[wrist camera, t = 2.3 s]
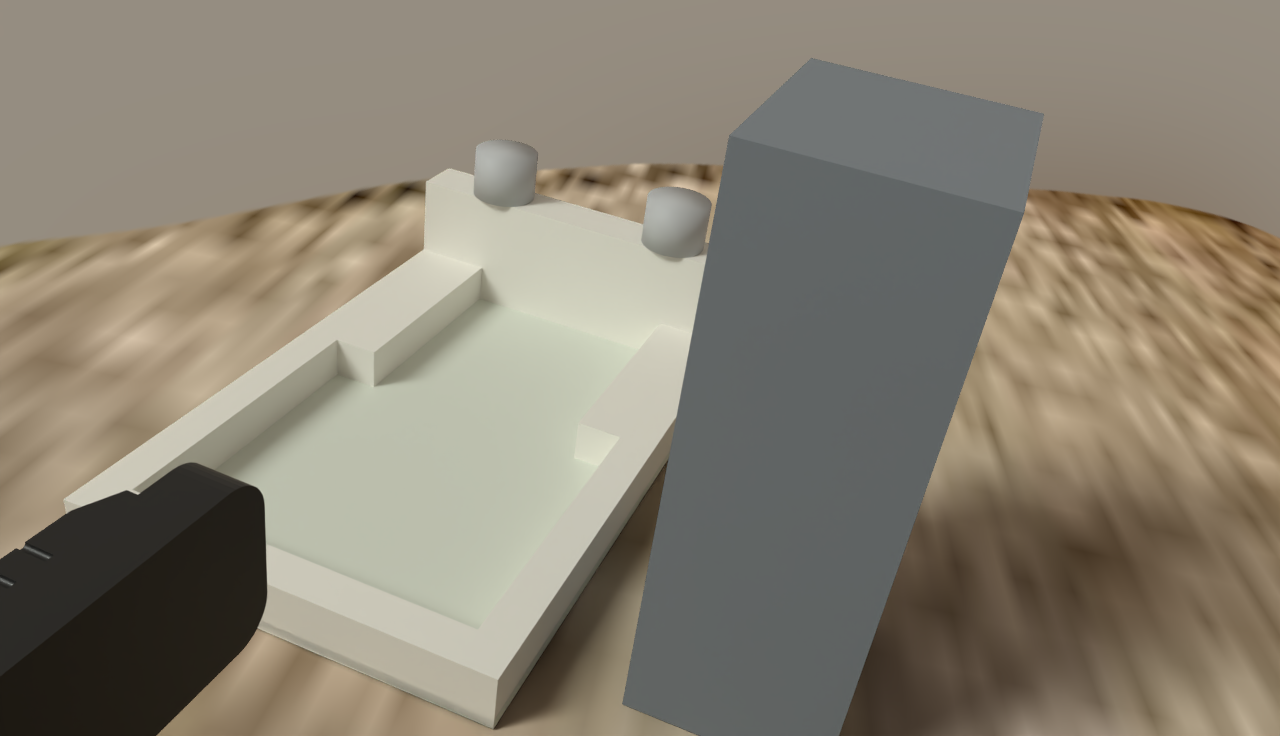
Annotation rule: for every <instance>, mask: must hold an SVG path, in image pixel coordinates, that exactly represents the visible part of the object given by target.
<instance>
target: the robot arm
mask: <svg viewBox="0 0 1280 736" xmlns="http://www.w3.org/2000/svg"><path fill="white" fill-rule="evenodd" d="M266 602H267V562H266V529H265V503H264V498H263V494H262V493H261V491H260V490H259V489H258V488H257V487H255V486H252V485H250V484H247V483H245V482H242V481H240V480H237V479H235V478H233V477H230V476H228V475H225V474H223V473H220V472H218V471H215V470H213V469H210V468H208V467H206V466H203V465H201V464H198V463H193V462H190V463H185V464H182V465H180V466H178V467H176V468H175V469H173V470H171V471H170V472H169V473H167V474H166V475H164V476H163V477H162V478H160V479H159V480H158V481H156V482H155V483H153V484H152V485H151V486H149V487H148V488H146V489H145V490H144V491H142V492H141V493H139V494H138V495H137V494H135V493H133V492H130V491H128V490H125V491H123V492H120V493H117V494H115V495H112V496H109V497H106V498H104V499H101V500H98V501H96V502H93V503H90V504H87V505H85V506H82V507H79V508H77V509H74V510H71V511H70V512H68V513H67V514H65V515H64V516H62V517H61V518H59V519H58V520H57V521H55V522H54V523H52V524H51V525H49V526H48V527H46V528H45V529H44V530H42V531H41V532H39V533H38V534H36V535H35V536H33V537H32V538H30V539H29V540H28V541H26V542H25V546H24V547H23V548H22V549H21V550H19V549H17V548H16V549H14V550H13V551H12V552H10V553H9V554H7V555H6V556H4V557H3V558H1V559H0V736H156V735H157V734H158V733H159V732H160V731H161V730H162V729H163V728H164V727H165V726H166V725H167V724H168V723H169V722H170V721H171V720H172V719H173V718H174V717H175V716H177V715H178V714H179V713H180V712H181V711H182V710H183V709H184V708H185V707H186V706H187V705H188V704H189V703H190V702H191V701H192V700H193V699H194V698H195V697H196V696H197V695H198V694H199V693H200V692H201V691H202V690H203V689H204V688H205V687H206V686H207V685H208V684H209V683H210V682H211V681H212V680H213V679H214V678H215V677H216V676H217V675H218V674H219V673H220V672H221V671H222V670H223V669H224V668H225V667H226V666H227V665H228V664H229V663H230V662H231V661H232V660H233V659H234V658H235V657H236V656H237V655H238V654H239V653H240V652H241V651H242V650H243V649H244V648H245V646H246V645H247V644H248V642H249V641H250V639H251V638H252V636H253V635H254V633H255V631H256V629H257V628H258V626H259V623H260V621H261V619H262V616H263V613H264V610H265V607H266Z"/></svg>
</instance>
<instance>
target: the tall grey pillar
mask: <svg viewBox="0 0 1280 736" xmlns="http://www.w3.org/2000/svg"><path fill="white" fill-rule="evenodd" d="M1043 116H1044V114H1043V113H1038V112H1034V111H1030V110H1026V109H1022V108H1017V107H1013V106H1009V105H1005V104H1001V103H997V102H993V101H988V100H984V99H980V98H976V97H972V96H967V95H963V94H959V93H954V92H951V91H947V90H942V89H938V88H934V87H930V86H926V85H921V84H917V83H913V82H909V81H905V80H901V79H896V78H892V77H888V76H884V75H880V74H875V73H871V72H867V71H863V70H859V69H855V68H851V67H846V66H842V65H838V64H834V63H830V62H826V61H821V60H817V59H813V58H811V59H810V60H809V61H808V62H807V63H806V64H804V65H803V66H802V67H801V68H800V69H799V70H798V71H797V72H796V73H795V74H794V75H793V76H792V77H791V78H790V79H789V80H788V81H786V82H785V84H783V86H781V87H780V88H779V89H778V90H777V91H776V92H775V93H774V94H773V95H772V96H771V97H770V98H768V99H767V100H766V101H765V102H764V103H763V104H762V105H761V106H760V107H759V108H758V109H757V110H756V111H755V112H754V113H753V114H752V115H750V116H749V117H748V118H747V119H746V120H745V121H744V122H743V123H742V124H741V125H740V126H739V127H738V128H737V129H736V130H735V131H734V132H733V133H731V134H730V135H729V140H728V145H727V151H726V156H725V161H724V166H723V172H722V177H721V182H720V188H719V193H718V198H717V204H716V209H715V214H714V220H713V225H712V230H711V236H710V241H709V246H708V251H707V257H706V262H705V267H704V273H703V278H702V283H701V289H700V294H699V299H698V305H697V310H696V315H695V321H694V326H693V331H692V337H691V342H690V347H689V352H688V358H687V363H686V368H685V374H684V379H683V384H682V390H681V395H680V400H679V406H678V411H677V416H676V422H675V427H674V432H673V438H672V443H671V448H670V453H669V459H668V464H667V469H666V475H665V480H664V485H663V491H662V496H661V501H660V507H659V512H658V517H657V523H656V528H655V533H654V539H653V544H652V549H651V554H650V560H649V565H648V570H647V576H646V581H645V586H644V592H643V597H642V602H641V608H640V613H639V618H638V624H637V629H636V634H635V640H634V645H633V650H632V655H631V661H630V666H629V671H628V677H627V682H626V687H625V693H624V698H623V703H622V704H623V705H626V706H628V707H630V708H633V709H635V710H638V711H640V712H643V713H645V714H648V715H650V716H652V717H655V718H657V719H660V720H662V721H665V722H667V723H670V724H672V725H674V726H677V727H679V728H682V729H684V730H687V731H689V732H692V733H694V734H696V735H699V736H839V734H840V731H841V728H842V726H843V723H844V720H845V717H846V714H847V711H848V709H849V706H850V703H851V700H852V697H853V694H854V692H855V689H856V686H857V683H858V680H859V678H860V675H861V672H862V669H863V666H864V663H865V661H866V658H867V655H868V652H869V649H870V646H871V644H872V641H873V638H874V635H875V632H876V630H877V627H878V624H879V621H880V618H881V615H882V613H883V610H884V607H885V604H886V601H887V598H888V596H889V593H890V590H891V587H892V584H893V582H894V579H895V576H896V573H897V570H898V567H899V565H900V562H901V559H902V556H903V553H904V550H905V548H906V545H907V542H908V539H909V536H910V534H911V531H912V528H913V525H914V522H915V519H916V517H917V514H918V511H919V508H920V505H921V502H922V500H923V497H924V494H925V491H926V488H927V486H928V483H929V480H930V477H931V474H932V471H933V469H934V466H935V463H936V460H937V457H938V454H939V452H940V449H941V446H942V443H943V440H944V437H945V435H946V432H947V429H948V426H949V423H950V421H951V418H952V415H953V412H954V409H955V406H956V404H957V401H958V398H959V395H960V392H961V389H962V387H963V384H964V381H965V378H966V375H967V373H968V370H969V367H970V364H971V361H972V358H973V356H974V353H975V350H976V347H977V344H978V341H979V339H980V336H981V333H982V330H983V327H984V325H985V322H986V319H987V316H988V313H989V310H990V308H991V305H992V302H993V299H994V296H995V293H996V291H997V288H998V285H999V282H1000V279H1001V277H1002V274H1003V271H1004V268H1005V265H1006V262H1007V260H1008V257H1009V254H1010V251H1011V248H1012V245H1013V243H1014V240H1015V237H1016V234H1017V231H1018V229H1019V226H1020V223H1021V220H1022V217H1023V214H1024V211H1025V206H1026V201H1027V196H1028V191H1029V186H1030V181H1031V176H1032V171H1033V166H1034V160H1035V156H1036V151H1037V146H1038V141H1039V136H1040V131H1041V126H1042V121H1043Z"/></svg>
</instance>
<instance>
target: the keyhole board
mask: <svg viewBox="0 0 1280 736" xmlns="http://www.w3.org/2000/svg"><path fill="white" fill-rule="evenodd" d="M537 160H538V152H537V151H536V150H535V149H534V148H533V147H531V146H529V145H526V144H524V143H520V142H516V141H510V140H491V141H486V142H482V143H480V144H479V145H477V147H476V159H475V175H471V174H468V173H464V172H461V171H457V170H454V169H450V168H448V169H447V170H445V171H443V172H442V173H440V174H438V175H437V176H435V177H433V178H432V179H430V180H428V181H427V182H426V201H425V232H424V250H422V251H421V252H420V253H418V254H417V255H415V256H414V257H412V258H411V259H409V260H408V261H407V262H405V263H404V264H402V265H401V266H399V267H398V268H397V269H395V270H394V271H392V272H391V273H389V274H388V275H386V276H385V277H384V278H382V279H381V280H379V281H378V282H376V283H375V284H373V285H372V286H371V287H369V288H368V289H366V290H365V291H363V292H362V293H360V294H359V295H358V296H356V297H355V298H353V299H352V300H350V301H349V302H347V303H346V304H345V305H343V306H342V307H340V308H339V309H337V310H336V311H334V312H333V313H332V314H330V315H329V316H327V317H326V318H324V319H323V320H321V321H320V322H319V323H317V324H316V325H314V326H313V327H311V328H310V329H308V330H307V331H306V332H304V333H303V334H301V335H300V336H298V337H297V338H296V339H294V340H293V341H291V342H290V343H288V344H287V345H285V346H284V347H283V348H281V349H280V350H278V351H277V352H275V353H274V354H272V355H271V356H270V357H268V358H267V359H265V360H264V361H262V362H261V363H259V364H258V365H257V366H255V367H254V368H252V369H251V370H249V371H248V372H246V373H245V374H244V375H242V376H241V377H239V378H238V379H236V380H235V381H233V382H232V383H231V384H229V385H228V386H226V387H225V388H223V389H222V390H220V391H219V392H218V393H216V394H215V395H213V396H212V397H210V398H209V399H207V400H206V401H205V402H203V403H202V404H200V405H199V406H197V407H196V408H195V409H193V410H192V411H190V412H189V413H187V414H186V415H184V416H183V417H182V418H180V419H179V420H177V421H176V422H174V423H173V424H171V425H170V426H169V427H167V428H166V429H164V430H163V431H161V432H160V433H158V434H157V435H156V436H154V437H153V438H151V439H150V440H148V441H147V442H145V443H144V444H143V445H141V446H140V447H138V448H137V449H135V450H134V451H132V452H131V453H130V454H128V455H127V456H125V457H124V458H122V459H121V460H119V461H118V462H117V463H115V464H114V465H112V466H111V467H109V468H108V469H106V470H105V471H104V472H102V473H101V474H99V475H98V476H96V477H95V478H94V479H92V480H91V481H89V482H88V483H86V484H85V485H83V486H82V487H81V488H79V489H78V490H76V491H75V492H73V493H72V494H70V495H69V496H68V497H66V498H65V499H63V500H64V505H65V510H66V514H67V513H68V512H70V511H71V510H74V509H77V508H79V507H82V506H85V505H87V504H90V503H93V502H96V501H98V500H101V499H104V498H106V497H109V496H112V495H115V494H117V493H120V492H123V491H125V490H128V491H130V492H133V493H135V494H137V495H138V494H139V493H141V492H142V491H144V490H145V489H146V488H148V487H149V486H151V485H152V484H153V483H155V482H156V481H158V480H159V479H160V478H162V477H163V476H164V475H166V474H167V473H169V472H170V471H171V470H173V469H175V468H176V467H178V466H180V465H182V464H185V463H190V462H193V463H198V464H201V465H203V466H206V467H208V468H210V469H213V470H215V471H218V472H220V473H223V474H225V475H228V476H230V477H233V478H235V479H237V480H240V481H242V482H245V483H247V484H250V485H252V486H255V487H257V488H258V489H259V490H260V491H261V493H262V494H263V498H264V503H265V529H266V562H267V602H266V607H265V610H264V613H263V616H262V619H261V621H260V623H259V626H258V629H260V630H263V631H265V632H267V633H270V634H272V635H274V636H277V637H279V638H281V639H284V640H286V641H288V642H291V643H293V644H295V645H298V646H300V647H302V648H305V649H307V650H309V651H312V652H314V653H316V654H319V655H321V656H323V657H326V658H328V659H330V660H333V661H335V662H337V663H340V664H342V665H344V666H347V667H349V668H351V669H354V670H356V671H358V672H361V673H363V674H365V675H368V676H370V677H372V678H375V679H377V680H379V681H382V682H384V683H386V684H389V685H391V686H393V687H396V688H398V689H400V690H403V691H405V692H407V693H410V694H412V695H414V696H417V697H419V698H421V699H424V700H426V701H428V702H431V703H433V704H435V705H438V706H440V707H442V708H445V709H447V710H449V711H452V712H454V713H456V714H459V715H461V716H463V717H466V718H468V719H470V720H473V721H475V722H477V723H480V724H482V725H484V726H487V727H489V728H491V729H494V727H495V726H496V724H497V723H498V721H499V720H500V718H501V717H502V715H503V713H504V712H505V710H506V709H507V707H508V706H509V704H510V703H511V701H512V700H513V698H514V696H515V695H516V693H517V692H518V690H519V689H520V687H521V686H522V684H523V683H524V681H525V679H526V678H527V676H528V675H529V673H530V672H531V670H532V669H533V667H534V666H535V664H536V662H537V661H538V659H539V658H540V656H541V655H542V653H543V652H544V650H545V649H546V647H547V645H548V644H549V642H550V641H551V639H552V638H553V636H554V635H555V633H556V632H557V630H558V628H559V627H560V625H561V624H562V622H563V621H564V619H565V618H566V616H567V615H568V613H569V611H570V610H571V608H572V607H573V605H574V604H575V602H576V601H577V599H578V598H579V596H580V594H581V593H582V591H583V590H584V588H585V587H586V585H587V584H588V582H589V581H590V579H591V578H592V576H593V574H594V573H595V571H596V570H597V568H598V567H599V565H600V564H601V562H602V561H603V559H604V557H605V556H606V554H607V553H608V551H609V550H610V548H611V547H612V545H613V544H614V542H615V540H616V539H617V537H618V536H619V534H620V533H621V531H622V530H623V528H624V527H625V525H626V523H627V522H628V520H629V519H630V517H631V516H632V514H633V513H634V511H635V510H636V508H637V506H638V505H639V503H640V502H641V500H642V499H643V497H644V496H645V494H646V493H647V491H648V489H649V488H650V486H651V485H652V483H653V482H654V480H655V479H656V477H657V476H658V474H659V472H660V471H661V469H662V468H663V466H664V465H665V463H666V462H667V460H668V459H669V453H670V448H671V443H672V438H673V432H674V427H675V422H676V416H677V411H678V406H679V400H680V395H681V390H682V384H683V379H684V374H685V368H686V363H687V358H688V352H689V347H690V342H691V337H692V331H693V326H694V321H695V315H696V310H697V305H698V299H699V294H700V289H701V283H702V278H703V273H704V267H705V262H706V257H707V251H708V246H709V243H706V242H705V238H706V232H707V227H708V222H709V216H710V211H711V201H710V200H709V199H708V198H707V197H706V196H704V195H702V194H700V193H698V192H696V191H693V190H689V189H685V188H679V187H660V188H656V189H653V190H651V191H650V192H649V193H648V198H647V205H646V211H645V218H644V224H640V223H637V222H633V221H630V220H626V219H623V218H619V217H616V216H612V215H609V214H606V213H602V212H599V211H595V210H592V209H588V208H585V207H581V206H578V205H575V204H571V203H568V202H564V201H561V200H557V199H554V198H550V197H547V196H543V195H540V194H537V193H535V183H536V172H537Z"/></svg>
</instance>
